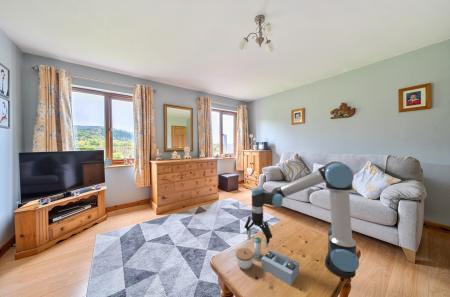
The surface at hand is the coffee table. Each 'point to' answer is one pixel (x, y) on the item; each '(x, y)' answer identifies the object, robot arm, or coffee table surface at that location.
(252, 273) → the coffee table surface
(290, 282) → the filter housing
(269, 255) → the plunger far
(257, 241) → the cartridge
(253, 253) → the mat
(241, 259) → the lidded jar
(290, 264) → the plunger near
